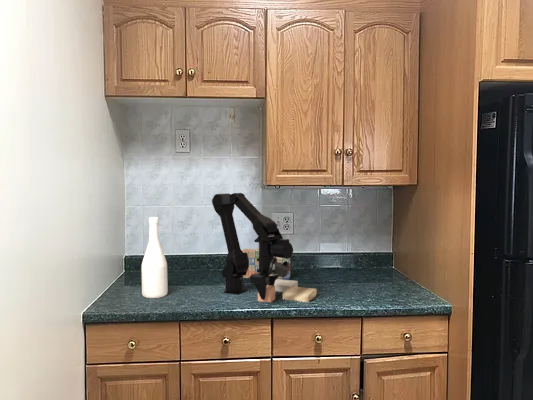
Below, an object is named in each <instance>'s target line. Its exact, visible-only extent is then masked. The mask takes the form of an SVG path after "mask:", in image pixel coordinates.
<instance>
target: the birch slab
mask: <svg viewBox="0 0 533 400" xmlns="http://www.w3.org/2000/svg"><path fill="white" fill-rule="evenodd" d="M317 293H318V290H317V288H311V287H301V286H298V287H294V286H292V287H290V288H289V289H287V290H286V291H284V292H282V300H284V299H285V301H286V300H287V301H292V300H294V302H301V301H302V303H309V302H310V300H311V301H312V300H313V299H314V298H315V297H317V296H318V295H317ZM316 295H317V296H316Z"/></svg>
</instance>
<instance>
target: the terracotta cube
mask: <svg viewBox="0 0 533 400" xmlns="http://www.w3.org/2000/svg"><path fill="white" fill-rule="evenodd" d="M274 300H276V291H275V286H272V285H267V286H266V294H265V299H264V300H262V299H261V297H260V295H259V293H258V292H257V302H263V303H269V304H270V303H272V302H273V301H274Z"/></svg>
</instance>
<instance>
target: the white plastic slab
mask: <svg viewBox="0 0 533 400" xmlns="http://www.w3.org/2000/svg"><path fill="white" fill-rule="evenodd" d="M274 286H275V292H280V293H283V292H284V291H286V290H287V289H289V288H290V287H292V286H294V287H299V281H298V280H290V279H276V280H275V284H274Z"/></svg>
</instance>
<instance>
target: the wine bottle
mask: <svg viewBox="0 0 533 400" xmlns="http://www.w3.org/2000/svg"><path fill="white" fill-rule="evenodd" d="M159 223H160V221H159V217H158V216H150V217H148V225H149V226H148V228H149V229H148V231H149V235H148V236H149V239H148V242H147V246H146V250H145V253H144V256H143V259H142V262H141V295H142V296H143V297H144V298H147V299H159V298H163V297H165V296H167V295H168V261H167V259H166V256H165V253H164V252H163V251H164V250H163V247H162V245H161V242H160V237H159Z"/></svg>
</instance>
